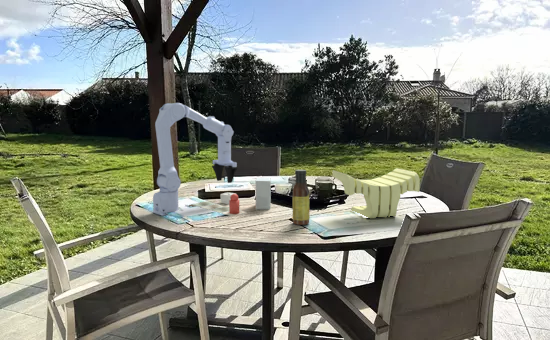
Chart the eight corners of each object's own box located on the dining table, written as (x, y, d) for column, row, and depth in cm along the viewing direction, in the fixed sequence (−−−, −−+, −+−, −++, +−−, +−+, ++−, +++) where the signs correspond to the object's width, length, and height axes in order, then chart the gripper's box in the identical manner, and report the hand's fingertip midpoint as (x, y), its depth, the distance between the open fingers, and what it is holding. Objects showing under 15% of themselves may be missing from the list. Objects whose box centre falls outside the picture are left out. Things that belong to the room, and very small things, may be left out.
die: (229, 206, 161) (229, 195, 161) (220, 205, 164) (220, 194, 163) (236, 204, 166) (236, 193, 165) (227, 203, 168) (227, 192, 167)
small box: (256, 207, 161) (256, 177, 159) (270, 207, 161) (270, 177, 159) (255, 211, 153) (255, 180, 151) (270, 211, 153) (270, 180, 151)
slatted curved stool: (348, 222, 138) (350, 175, 136) (331, 212, 153) (332, 169, 151) (417, 217, 146) (420, 173, 144) (394, 208, 161) (396, 168, 159)
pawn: (233, 214, 144) (233, 195, 143) (227, 212, 146) (227, 193, 145) (241, 212, 147) (241, 193, 146) (235, 210, 149) (234, 192, 148)
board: (230, 219, 141) (230, 216, 141) (189, 206, 160) (189, 204, 160) (249, 214, 148) (249, 212, 148) (208, 203, 167) (208, 201, 167)
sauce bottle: (312, 224, 135) (314, 170, 132) (298, 226, 132) (299, 171, 129) (302, 220, 140) (303, 168, 138) (288, 222, 137) (289, 169, 135)
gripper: (241, 152, 162) (241, 182, 164) (221, 150, 172) (221, 178, 174) (229, 153, 157) (229, 184, 159) (209, 150, 167) (209, 180, 169)
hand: (224, 181), depth 166 cm, fingers open, 7 cm apart
